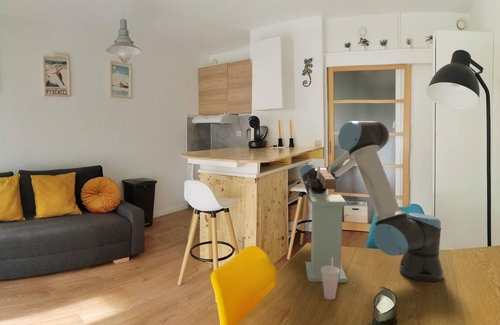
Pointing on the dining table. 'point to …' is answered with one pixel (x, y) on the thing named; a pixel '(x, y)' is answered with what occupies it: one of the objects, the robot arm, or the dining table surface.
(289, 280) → the dining table surface
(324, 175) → the walnut bar
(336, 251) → the stand
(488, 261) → the dining table surface
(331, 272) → the smoothie
